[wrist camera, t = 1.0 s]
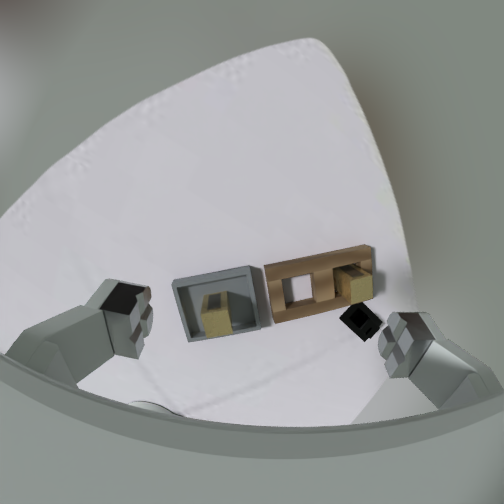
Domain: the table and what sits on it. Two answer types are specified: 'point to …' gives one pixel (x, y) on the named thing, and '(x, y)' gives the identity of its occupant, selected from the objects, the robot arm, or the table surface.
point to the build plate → (361, 320)
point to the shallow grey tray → (226, 280)
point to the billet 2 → (353, 283)
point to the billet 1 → (216, 314)
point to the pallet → (313, 282)
